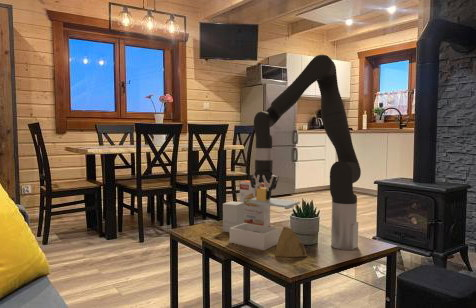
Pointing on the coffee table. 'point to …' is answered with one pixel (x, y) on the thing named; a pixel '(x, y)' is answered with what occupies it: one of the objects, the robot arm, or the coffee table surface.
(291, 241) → the rock
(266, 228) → the tub
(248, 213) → the cracker box
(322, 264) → the coffee table surface
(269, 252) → the coffee table surface
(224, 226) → the supplement box
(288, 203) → the lid
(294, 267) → the coffee table surface
